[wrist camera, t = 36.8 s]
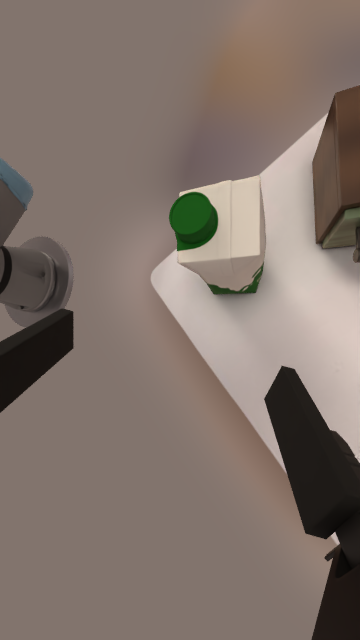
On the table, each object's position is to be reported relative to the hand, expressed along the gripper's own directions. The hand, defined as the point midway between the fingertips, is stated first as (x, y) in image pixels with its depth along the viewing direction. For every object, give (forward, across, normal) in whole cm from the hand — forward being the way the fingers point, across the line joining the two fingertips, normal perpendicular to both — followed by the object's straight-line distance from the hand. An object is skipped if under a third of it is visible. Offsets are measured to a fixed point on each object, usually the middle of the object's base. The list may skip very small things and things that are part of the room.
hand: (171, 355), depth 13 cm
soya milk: (+27, +6, +1) cm, 28 cm away
